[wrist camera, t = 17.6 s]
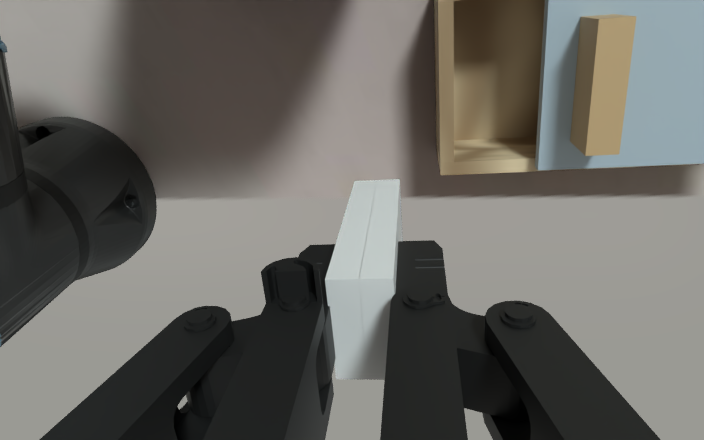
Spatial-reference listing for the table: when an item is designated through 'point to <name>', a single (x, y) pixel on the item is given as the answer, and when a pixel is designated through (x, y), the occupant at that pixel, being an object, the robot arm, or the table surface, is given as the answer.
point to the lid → (621, 84)
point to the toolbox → (488, 85)
